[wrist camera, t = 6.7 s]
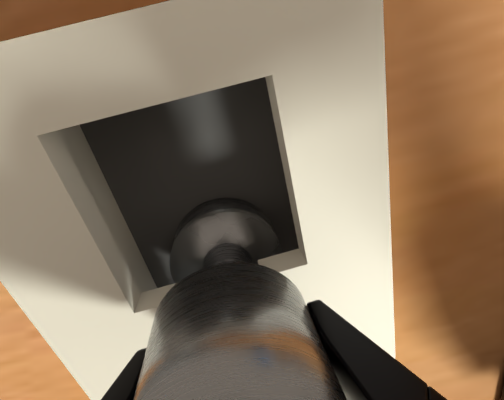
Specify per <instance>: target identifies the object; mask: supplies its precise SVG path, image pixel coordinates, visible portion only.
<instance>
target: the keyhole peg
mask: <svg viewBox="0 0 504 400" xmlns="http://www.w3.org/2000/svg"><path fill="white" fill-rule="evenodd" d="M281 253H282V249H281V245H280V243H279V240H278V238H277V236H276V233H275V231H274V229H273V226H272V224H271V222H270V220H269V219H268V217H267V216H266V215H265V213H264V212H263V211H262V210H260V209H259V208H258V207H256V206H255V205H253V204H251V203H249V202H247V201H244V200H241V199H235V198H218V199H213V200H209V201H206V202H204V203H202V204H200V205H198V206H196V207H195V208H193V209H192V210H191V211H190V212H189V213H188V214H187V215H186V216H185V217H184V218H183V219H182V221H181V222H180V224H179V226H178V228H177V231H176V235H175V238H174V242H173V246H172V250H171V254H170V261H169V264H170V273H171V276H172V279H173V281H174V283H177V284H175V285H174V286H173V287H172V288H171V289H170V290H169V291H168V292H167V293H166V295H165V296H164V298H163V299H162V300H161V302H160V304H159V306H158V308H157V311H156V314H155V317H154V321H153V325H152V328H151V332H150V336H149V340H148V344H147V348H146V352H145V356H144V360H143V364H142V368H141V371H140V375H139V379H138V383H137V387H136V391H135V395H134V399H133V400H347V399H346V397H345V394H344V392H343V390H342V387H341V385H340V383H339V380H338V378H337V376H336V373H335V371H334V369H333V366H332V364H331V362H330V359H329V357H328V355H327V352H326V350H325V348H324V345H323V343H322V341H321V338H320V336H319V334H318V331H317V329H316V327H315V324H314V322H313V320H312V317H311V315H310V313H309V310H308V308H307V306H306V303H305V301H304V299H303V297H302V295H301V292H300V291H299V290H298V288H297V287H296V285H295V284H294V283H293V282H292V281H291V280H290V279H288V278H287V277H286V276H284V275H283V274H281V273H279V272H277V271H276V270H274V269H271V268H268V267H266V266H262V265H259V264H258V260H259V259H263V258H267V257H270V256H274V255H277V254H281Z"/></svg>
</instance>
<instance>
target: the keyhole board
mask: <svg viewBox="0 0 504 400" xmlns="http://www.w3.org/2000/svg"><path fill="white" fill-rule="evenodd" d="M218 198H235V199H241V200H244V201H247V202H249V203H251V204H253V205H255V206H256V207H258V208H259V209H260V210H262V211H263V212H264V213H265V215H266V216H267V217H268V219H269V220H270V222H271V224H272V226H273V229H274V231H275V233H276V236H277V238H278V240H279V243H280V245H281V249H282V253H281V254H277V255H274V256H270V257H267V258H263V259H259V260H258V264H259V265H262V266H266V267H268V268H271V269H274V270H276V271H277V272H279V273H281V274H283V275H284V276H286V277H287V278H288V279H290V280H291V281H292V282H293V283H294V284H295V285H296V287H297V288H298V290H299V291H300V292H301V295H302V297H303V299H304V301H305V303H306V306H307V303H308V302H311V301H315V300H321V301H322V302H324V303H325V304H326V305H327V306H329V307H330V308H331V309H332V310H334V311H335V312H336V313H337V314H339V315H340V316H341V317H343V318H344V319H345V320H346V321H348V322H349V323H350V324H351V325H353V326H354V327H355V328H357V329H358V330H359V331H360V332H362V333H363V334H364V335H365V336H367V337H368V338H369V339H371V340H372V341H373V342H374V343H376V344H377V345H378V346H379V347H381V348H382V349H383V350H384V351H386V352H387V353H388V354H390V355H391V356H392V357H393V358H395V332H394V303H393V274H392V245H391V216H390V187H389V158H388V129H387V100H386V71H385V42H384V13H383V0H169V1H165V2H161V3H157V4H153V5H149V6H145V7H141V8H136V9H132V10H128V11H124V12H120V13H116V14H112V15H108V16H104V17H100V18H96V19H91V20H87V21H83V22H79V23H75V24H71V25H67V26H63V27H59V28H55V29H51V30H46V31H42V32H38V33H34V34H30V35H26V36H22V37H18V38H14V39H10V40H5V41H1V42H0V281H1V283H2V284H3V285H4V287H5V288H6V289H7V290H8V292H9V293H10V294H11V296H12V297H13V298H14V300H15V301H16V302H17V304H18V305H19V306H20V308H21V309H22V310H23V311H24V313H25V314H26V315H27V317H28V318H29V319H30V321H31V322H32V323H33V325H34V326H35V327H36V329H37V330H38V331H39V332H40V334H41V335H42V336H43V338H44V339H45V340H46V342H47V343H48V344H49V346H50V347H51V348H52V350H53V351H54V352H55V353H56V355H57V356H58V357H59V359H60V360H61V361H62V363H63V364H64V365H65V367H66V368H67V369H68V371H69V372H70V373H71V374H72V376H73V377H74V378H75V380H76V381H77V382H78V384H79V385H80V386H81V388H82V389H83V390H84V392H85V393H86V394H87V395H88V397H89V398H90V399H91V400H101V399H102V397H103V396H104V395H105V393H106V392H107V391H108V389H109V388H110V387H111V385H112V384H113V383H114V381H115V380H116V378H117V377H118V376H119V374H120V373H121V372H122V370H123V369H124V368H125V366H126V365H127V364H128V362H129V361H130V360H131V358H132V357H133V356H134V354H135V353H136V352H137V351H138V350H140V349H143V348H147V344H148V340H149V336H150V332H151V328H152V325H153V321H154V317H155V314H156V311H157V308H158V306H159V304H160V302H161V300H162V299H163V298H164V296H165V295H166V293H167V292H168V291H169V290H170V289H171V288H172V287H173V286H174V285H175V284H177V283H174V281H173V279H172V276H171V273H170V264H169V261H170V254H171V250H172V246H173V242H174V238H175V235H176V231H177V228H178V226H179V224H180V222H181V221H182V219H183V218H184V217H185V216H186V215H187V214H188V213H189V212H190V211H191V210H192V209H193V208H195V207H196V206H198V205H200V204H202V203H204V202H206V201H209V200H213V199H218Z"/></svg>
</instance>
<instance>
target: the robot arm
mask: <svg viewBox="0 0 504 400" xmlns="http://www.w3.org/2000/svg"><path fill="white" fill-rule="evenodd" d="M307 308H308V310H309V313H310V315H311V317H312V320H313V322H314V324H315V327H316V329H317V331H318V334H319V336H320V338H321V341H322V343H323V345H324V348H325V350H326V352H327V355H328V357H329V359H330V362H331V364H332V366H333V369H334V371H335V373H336V376H337V378H338V380H339V383H340V385H341V387H342V390H343V392H344V394H345V397H346V399H347V400H447V399H446V398H444V397H443V396H442V395H441V394H439V393H438V392H437V391H436V390H434V389H433V388H432V387H430V386H429V387H427V384H426V383H425V382H424V381H423V380H421V379H420V378H419V377H418V376H416V375H415V374H414V373H412V372H411V371H410V370H409V369H407V368H406V367H405V366H404V365H402V364H401V363H400V362H398V361H397V360H396V359H395V358H393V357H392V356H391V355H390V354H388V353H387V352H386V351H384V350H383V349H382V348H381V347H379V346H378V345H377V344H376V343H374V342H373V341H372V340H371V339H369V338H368V337H367V336H365V335H364V334H363V333H362V332H360V331H359V330H358V329H357V328H355V327H354V326H353V325H351V324H350V323H349V322H348V321H346V320H345V319H344V318H343V317H341V316H340V315H339V314H337V313H336V312H335V311H334V310H332V309H331V308H330V307H329V306H327V305H326V304H325V303H324V302H322V301H321V300H315V301H311V302H308V303H307ZM145 352H146V348H143V349H140V350H138V351H137V352H136V353H135V354H134V356H133V357H132V358H131V360H130V361H129V362H128V364H127V365H126V366H125V368H124V369H123V370H122V372H121V373H120V374H119V376H118V377H117V378H116V380H115V381H114V383H113V384H112V385H111V387H110V388H109V389H108V391H107V392H106V393H105V395H104V396H103V397H102V399H101V400H133V399H134V395H135V391H136V387H137V383H138V379H139V375H140V371H141V368H142V364H143V360H144V356H145ZM501 400H504V386H503V390H502V395H501Z"/></svg>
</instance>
